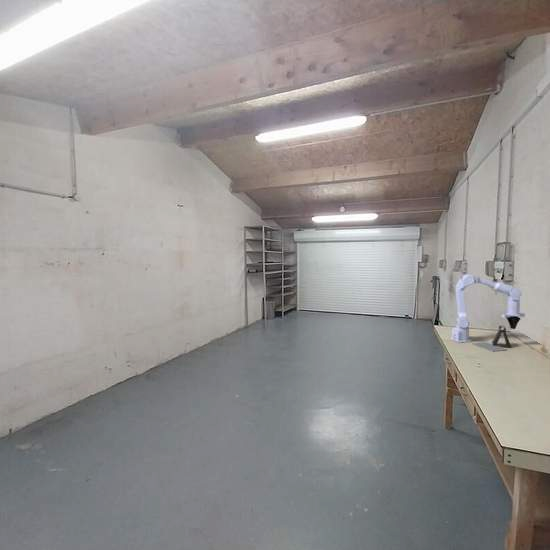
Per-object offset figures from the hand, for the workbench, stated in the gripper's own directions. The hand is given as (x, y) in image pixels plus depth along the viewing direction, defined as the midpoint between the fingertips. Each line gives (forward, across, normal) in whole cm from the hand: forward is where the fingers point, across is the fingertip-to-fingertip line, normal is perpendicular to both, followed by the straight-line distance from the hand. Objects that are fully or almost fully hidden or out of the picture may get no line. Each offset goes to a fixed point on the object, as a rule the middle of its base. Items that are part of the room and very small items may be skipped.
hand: (512, 328), depth 180 cm
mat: (+10, -17, 0) cm, 20 cm away
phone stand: (+10, -8, 0) cm, 13 cm away
